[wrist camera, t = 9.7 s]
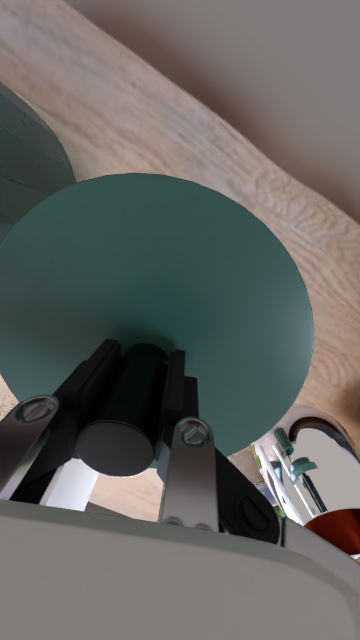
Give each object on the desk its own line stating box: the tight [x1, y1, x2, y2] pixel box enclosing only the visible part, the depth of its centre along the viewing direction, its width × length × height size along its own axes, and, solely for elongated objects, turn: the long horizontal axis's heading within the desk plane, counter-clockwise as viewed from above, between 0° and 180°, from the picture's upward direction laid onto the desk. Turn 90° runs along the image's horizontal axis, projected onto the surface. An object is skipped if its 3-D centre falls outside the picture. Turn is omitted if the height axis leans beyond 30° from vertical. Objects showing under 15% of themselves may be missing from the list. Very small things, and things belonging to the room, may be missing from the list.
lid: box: [0, 173, 314, 477], centre depth 9 cm, size 18×18×6 cm
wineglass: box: [252, 403, 360, 556], centre depth 21 cm, size 8×8×18 cm
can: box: [45, 458, 99, 511], centre depth 28 cm, size 12×12×20 cm
